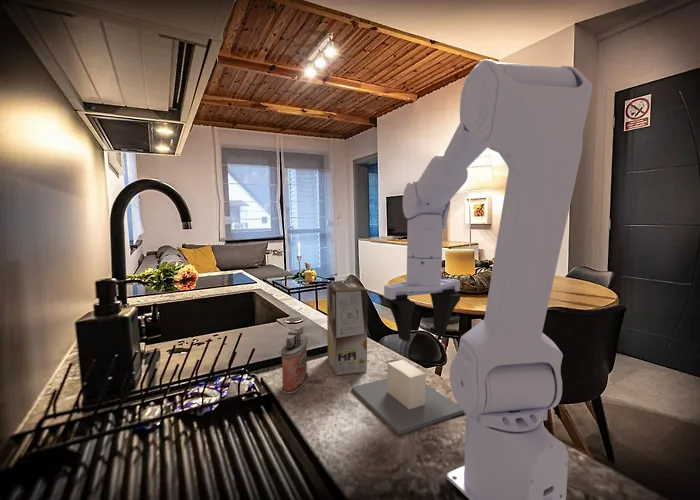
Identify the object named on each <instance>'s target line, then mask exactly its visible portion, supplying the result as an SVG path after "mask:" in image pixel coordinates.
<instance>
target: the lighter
mask: <svg viewBox="0 0 700 500" xmlns="http://www.w3.org/2000/svg"><path fill="white" fill-rule="evenodd" d="M302 335H304V327H303V326H302V325H298V326H296V328H294V330H288V333H287V336H286V337H285V343H284V345H283V346H282V348H281V349H280V357H281V362H282V363H281V364H282V365H281V366H282V368H281V369H282V373H281V374H282V386H281V396H282V397H284V398H293V397H296V396H297V395H299V393H301V392H302V390H303V389H304V388H305V387H306V385H307V383H308V380H309V373H308V371H307V370H308V363H307V362H308V361H307V360H308V357H307V356H308V355H307V354H308V353H307V351H308V350H307V349H308V348H307V347H308V346H307V345H308V343H309V341H308V338H307V337H305V336H302Z"/></svg>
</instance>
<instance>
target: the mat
mask: <svg viewBox="0 0 700 500" xmlns="http://www.w3.org/2000/svg"><path fill="white" fill-rule="evenodd" d="M351 392H353V393H354V395H356V396H357V397H358V398H359V399H360V400H361V401H362V402H363V403H364V404H365V405H366V406H367V407H369V409H370V410H371V411H372V412H374V413H375V415H376V416H378V417H379V418H380V419H381V420H382V421H383V422H384V423H385V424H387V425H388V427H389V428H391V429H392V430H393V431H394V432H395V433H396V434H397V435H398V436H401V435H403V434H407V433H410V432H412V431H415V430H419V429H422V428H424V427H427V426H430V425H434V424H436V423H439V422H442V421H444V420H445V421H446V420H448V419H451V418H454V417H457V416H460V415H462V414H465V412H464V411H463V410H462V409H461V408H460V407H459V405H458V404H457V403H456V402H454V401H453V400H451V399H449V398H447V397H446V396H445V395H443V394H441V393H440V392H438V391H437V390H436V389H435V388H433V387H431V386H429V385H428V384H426V383H425V405H422V406H419V407H416V408H412V409H408V408H407V407H406V406H404V405H403V404H402V403H401V402H399V401H398V400H397V399H395V398H394V397H393V396H392V395H390V394H389V393H388V392H387V377H386V378H383V379H379V380H375V381H370V382H367V383H366V382H365V383H363V384H359V385H353V386H351Z"/></svg>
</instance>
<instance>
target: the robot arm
mask: <svg viewBox="0 0 700 500" xmlns="http://www.w3.org/2000/svg"><path fill="white" fill-rule="evenodd" d="M472 68H473V69H471V71H470V72H469V73H468V75H467V76H466V79H465V81H464V83H463V86H462V89H461V93H460V100H459V101H460V102H459V124H458V126H457V127H456V130H455V132H454V134H453V136H452V138H451V140H450V142H449V143H448V145H447V147H446V149H445V151H444V153H443V152H442V153H439V154H436V155H435V156H434V157H432V158H431V159H430V161H429V163H428V164H427V166H426V167H425V169H424V171H423V173H422V174H421V176H420V177H419V179H418V181H413V182H407V183H406V186H405V188H404V190H403V195H402V211H403V215H404V217H405V218H406V219H407V227H406V228H407V233H406V234H407V235H406V237H407V240H406V241H407V242H406V244H407V245H406V246H407V247H406V279H405V280H404V281H401V282H397V283H396V282H395V283H393V284H387V285H384V286H383V298H385V302H386V303H387V306H388V307H389V309H390V311H391V314H392V316H393V318H394V322H395V326H396V329H397V334H398V338H399V339H400V340H402V341H404V342H410V341H411V333H412V332H411V329H412V318H413V314H414V310H415V308H416V302H414V301H412V300H410V298H409V297H412V296H420V295H429V294H430V298H431V302H432V303H431V304H432V308H433V309H432V311H433V330H434V332H435V333H438V334H440V335H446V332H447V328H448V325H449V321H450V319H451V316H452V314H453V312H454V309H455V308H456V306H457V304H458V303H459V301H460V300H461V293H459V292H460V290H461V289H460V288H461V280H459V279H455V278H442V270H443V269H442V265H443V264H442V263H443V232H444V231H443V230H446V226H447V218H448V214H449V212H450V209H451V208H450V207H451V200H452V199H453V197H454V196H455V195H456V194H457V193H458V192H459V190H460V189H461V188H462V187H463V185H464V184H466V183H467V180H468V177H469V176H468V175H469V174H468V168H469V167H470V166H471V164H473V163H474V162H475V161H476V160H477V159H478V158H479V157H480V156H481V155H482V154H483V153H484V151H486V150H487V148H488V150H491V151H493V152H496V153H498V154H499V156H501V158H502V160H503V161H504V163H505V164H506V166H507V169H508V172H507V178H506V185H505V189H504V190H505V191H504V197H503V202H502V210H501V215H500V220H499V221H500V222H499V226H498V233H497V238H496V239H497V240H496V245H495V246H496V247H495V250H494V251H495V252H494V257H493V263H492V270H491V276H490V282H489V288H488V289H489V290H488V295H487V300H486V306H485V312H484V318H483V320H481V321H480V322H478V323H477V324H476V325H474V326H473V327H472V328H471V329H469V330H468V331H467V332H465V333H464V334H462V335H461V336H460V339H459V344H458V349H457V352H456V353H455V355H454V357H453V359H452V361H451V363H450V367H449V383H450V389H451V392H452V395H453V397H454V400H455V403H456V404H457V405H459V407H460V408H461V409H462V410H463V411H464V414H466V415H465V439H464V441H465V443H464V444H465V445H464V465H463V466H460V467H458V468H456V469H453V470H451V471H449V472H447V473H446V478H447V480H448V481H449V482H450V483H451V484H453V486H455V488H457V489H458V490H459V491H460V492H461V493H462V494H463V495H464V496H465V497H466V498H467V499H468V500H567V490H568V489H567V487H568V476H569V475H568V473H569V454H568V450H567V447H566V446H565V444H564V443H563V442H561V441H560V440H559V439H557V438H556V437H555V436H554V435H553V434H552V433H551V432H549V430H548V429H547V428H546V426H544V424H543V422H544V421H547V420H548V413H549V411H548V410H551V409H554V408H556V407H557V406H558V405H559V403H560V401H561V400H562V396H563V379H562V373H561V372H562V371H561V370H562V369H561V367H562V361H563V357H564V354H563V352H562V351H561V350H560V348H559V347H558V346H557V345H556V343H555V342H554V341H553V340H552V339H551V338H550V337H549V336H547V335H546V334H545V333H544V332H543V330H544V326H545V321H546V316H547V312H548V307H549V302H550V298H551V293H552V288H553V286H554V285H553V284H554V280H555V275H556V271H557V267H558V266H557V265H558V262H559V257H560V252H561V248H562V243H563V240H564V235H565V230H566V226H567V223H568V222H567V221H568V216H569V212H570V207H571V202H572V199H573V198H572V197H573V193H574V190H575V185H576V181H577V180H576V179H577V175H578V171H579V166H580V162H581V158H582V157H581V156H582V151H583V140H584V139H583V134H584V129H585V125H586V121H587V115H588V111H589V107H590V101H591V99H592V98H591V97H592V92H593V88H594V85H593V84H592V83H591V81H590V80H589V79H588V78H586V76H585V75H584V74H583V73H582V71H580V70H579V69H578V68H576V67H574V66H569V65H566V66H565V65H564V66H563V65H562V66H548V65H541V64H540V65H538V64H537V65H536V64H526V63H513V62H502V61H495V60H494V59H487V58H486V59H483V60H480V61H479V62H477V63H476V65H475V66H474V67H472ZM457 292H458V293H457Z"/></svg>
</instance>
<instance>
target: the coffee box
mask: <svg viewBox="0 0 700 500" xmlns="http://www.w3.org/2000/svg"><path fill="white" fill-rule="evenodd" d="M326 309H327V311H326V312H327V313H326V314H327V315H326V316H327V318H326V319H327V320H326V321H327V331H326V332H327V359H328V362H329V364H330V366H331V368H332V369H333V371H334V373H335V376H342V375H350V374H358V373H359V374H360V373H366V372H367V370H368V289H367V288H365V287H364V286H362V285H360V284H359V283H357V282H356V281H340V282H338V281H337V282H328V283H326Z"/></svg>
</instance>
